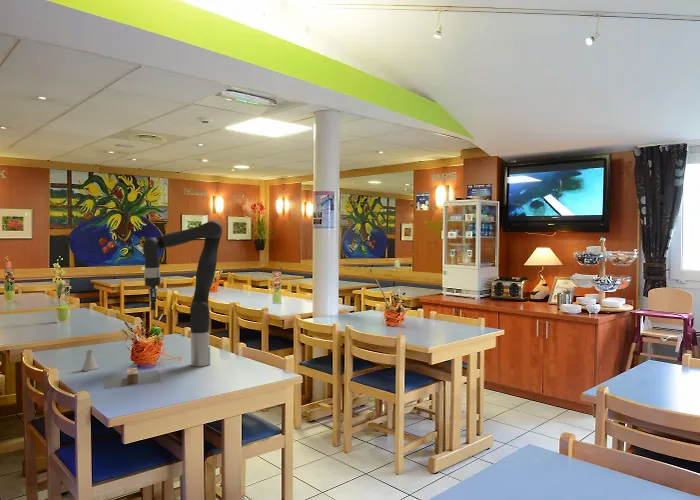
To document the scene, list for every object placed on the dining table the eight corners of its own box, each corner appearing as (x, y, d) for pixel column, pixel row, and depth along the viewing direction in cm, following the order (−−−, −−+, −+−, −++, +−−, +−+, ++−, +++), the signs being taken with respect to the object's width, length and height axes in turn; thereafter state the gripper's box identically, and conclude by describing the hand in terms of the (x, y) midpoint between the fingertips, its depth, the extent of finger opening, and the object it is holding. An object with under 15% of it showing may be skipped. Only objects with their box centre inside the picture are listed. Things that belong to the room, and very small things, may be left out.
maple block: (137, 367, 244) (137, 373, 233) (137, 376, 244) (138, 383, 233) (126, 368, 242) (127, 375, 231) (127, 377, 242) (127, 384, 231)
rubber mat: (157, 370, 255) (157, 369, 255) (161, 382, 235) (161, 381, 235) (104, 376, 245) (104, 375, 245) (103, 389, 225) (103, 388, 225)
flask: (91, 372, 254) (90, 352, 253) (78, 371, 255) (78, 351, 255) (101, 368, 261) (100, 348, 260) (88, 367, 262) (88, 348, 262)
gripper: (161, 277, 259) (161, 311, 259) (159, 275, 271) (160, 307, 271) (145, 277, 255) (146, 312, 256) (144, 275, 267) (144, 308, 268)
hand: (153, 309), depth 264 cm, fingers closed
